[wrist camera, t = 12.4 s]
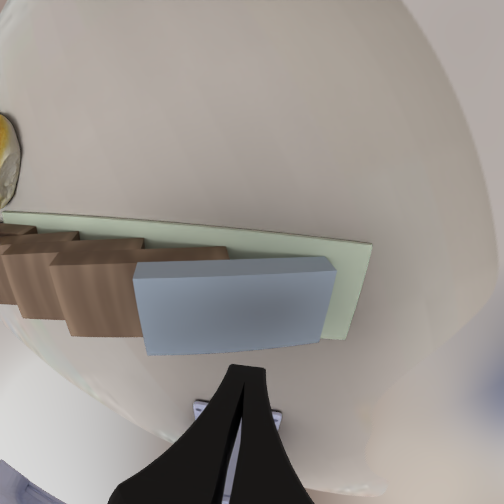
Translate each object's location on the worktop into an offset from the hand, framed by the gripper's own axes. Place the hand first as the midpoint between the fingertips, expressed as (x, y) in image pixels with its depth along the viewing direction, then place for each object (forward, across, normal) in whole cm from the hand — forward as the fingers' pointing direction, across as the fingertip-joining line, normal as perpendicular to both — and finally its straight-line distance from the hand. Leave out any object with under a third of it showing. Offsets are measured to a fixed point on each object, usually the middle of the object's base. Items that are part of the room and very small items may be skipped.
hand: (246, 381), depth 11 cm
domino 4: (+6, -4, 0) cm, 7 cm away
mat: (+7, +8, 0) cm, 11 cm away
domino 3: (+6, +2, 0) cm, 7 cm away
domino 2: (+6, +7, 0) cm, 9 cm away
